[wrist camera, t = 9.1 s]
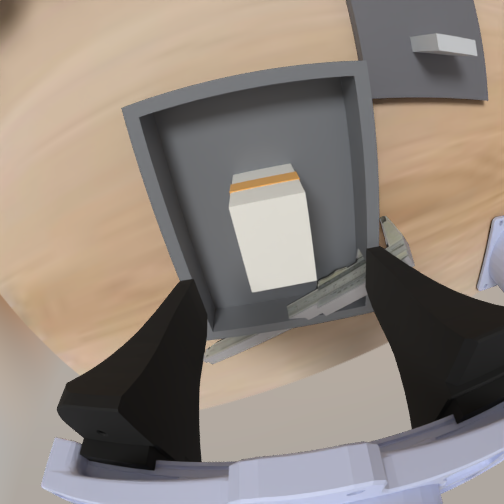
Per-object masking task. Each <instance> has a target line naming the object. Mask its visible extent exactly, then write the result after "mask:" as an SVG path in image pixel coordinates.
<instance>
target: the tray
mask: <svg viewBox="0 0 504 504" xmlns="http://www.w3.org/2000/svg"><path fill="white" fill-rule="evenodd" d="M121 109H122V112H123V116H124V119H125V123H126V126H127V130H128V133H129V137H130V140H131V143H132V147H133V150H134V153H135V157H136V160H137V163H138V166H139V169H140V172H141V175H142V178H143V182H144V185H145V188H146V191H147V193H148V196H149V199H150V202H151V205H152V208H153V211H154V214H155V216H156V219H157V222H158V225H159V228H160V230H161V233H162V236H163V238H164V241H165V244H166V246H167V249H168V252H169V254H170V257H171V260H172V262H173V265H174V267H175V270H176V272H177V275H178V277H179V280H180V281H183V280H189V279H194V281H195V283H196V286H197V289H198V291H199V294H200V297H201V299H202V302H203V304H204V307H205V309H206V312H207V314H208V316H207V339H206V340H215V339H223V338H231V337H238V336H245V335H252V334H259V333H265V332H272V331H278V330H284V329H290V328H296V327H302V326H307V325H313V324H318V323H323V322H328V321H333V320H338V319H343V318H348V317H353V316H357V315H362V314H366V313H371V312H374V310H373V308H372V306H371V303H370V300H369V297H368V295H366V296H364V297H362V298H360V299H358V300H356V301H354V302H352V303H351V304H349V305H347V306H345V307H343V308H341V309H339V310H337V311H335V312H333V313H331V314H329V315H327V316H325V315H324V314H323V313H321V314H319V315H318V316H316V317H314V318H312V319H310V320H308V319H307V318H296V319H289V316H288V310H287V305H289V304H291V303H292V302H294V301H296V300H298V299H300V298H301V297H303V296H305V295H307V294H308V293H310V292H312V291H314V290H315V289H316V284H317V281H312V282H306V283H301V284H296V285H291V286H286V287H280V288H275V289H269V290H264V291H258V292H253V293H252V291H251V287H250V284H249V280H248V276H247V273H246V269H245V265H244V262H243V258H242V255H241V251H240V247H239V244H238V240H237V236H236V233H235V229H234V225H233V222H232V218H231V214H230V211H229V201H230V192H229V191H230V185H231V184H232V179H233V175H235V174H240V173H244V172H249V171H254V170H259V169H264V168H269V167H274V166H279V165H284V164H290V163H291V165H292V167H293V169H294V171H296V172H297V174H298V176H299V178H300V183H301V185H302V187H303V189H304V191H305V194H306V201H307V207H308V214H309V221H310V229H311V236H312V244H313V252H314V260H315V268H316V277H317V280H318V279H320V278H323V277H326V276H328V275H329V274H330V273H331V272H333V271H334V270H336V269H339V268H342V267H345V266H346V267H348V266H350V265H352V264H353V263H355V262H356V256H357V250H358V249H359V250H360V252H361V254H362V256H363V257H364V259H365V261H366V249H367V248H372V247H378V246H379V181H378V160H377V145H376V133H375V122H374V112H373V103H372V95H371V88H370V81H369V74H368V68H367V61H366V60H365V61H341V62H326V63H314V64H305V65H296V66H288V67H281V68H274V69H267V70H261V71H255V72H250V73H245V74H239V75H234V76H230V77H225V78H221V79H216V80H212V81H208V82H204V83H200V84H196V85H192V86H188V87H185V88H181V89H177V90H174V91H171V92H167V93H164V94H161V95H158V96H154V97H151V98H148V99H145V100H142V101H139V102H137V103H134V104H131V105H128V106H125V107H123V108H121Z"/></svg>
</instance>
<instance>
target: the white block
mask: <svg viewBox="0 0 504 504" xmlns="http://www.w3.org/2000/svg"><path fill="white" fill-rule="evenodd" d="M229 192H230V201H229V211H230V214H231V218H232V222H233V225H234V229H235V233H236V236H237V240H238V244H239V247H240V251H241V255H242V258H243V262H244V265H245V269H246V273H247V276H248V280H249V284H250V287H251V291H252V293H253V292H258V291H264V290H269V289H275V288H280V287H286V286H291V285H296V284H301V283H306V282H312V281H317V277H316V268H315V260H314V252H313V244H312V236H311V229H310V221H309V214H308V207H307V201H306V194H305V191H304V189H303V187H302V185H301V183H300V178H299V176H298V174H297V172H296V171H294V169H293V167H292V165H291V163H290V164H284V165H279V166H274V167H269V168H264V169H259V170H254V171H249V172H244V173H240V174H235V175H233V179H232V184H231V185H230V191H229Z"/></svg>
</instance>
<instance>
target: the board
mask: <svg viewBox="0 0 504 504" xmlns="http://www.w3.org/2000/svg"><path fill="white" fill-rule="evenodd" d="M346 3H347V7H348V11H349V15H350V20H351V24H352V29H353V34H354V39H355V44H356V49H357V54H358V60H359V61H365V60H366V61H367V68H368V74H369V81H370V88H371V95H372V99H375V98H404V97H433V98H460V99H475V100H487V101H488V90H487V77H486V68H485V59H484V52H483V45H482V39H481V33H480V28H479V23H478V18H477V14H476V9H475V5H474V1H473V0H346Z"/></svg>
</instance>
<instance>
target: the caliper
mask: <svg viewBox="0 0 504 504" xmlns="http://www.w3.org/2000/svg"><path fill="white" fill-rule="evenodd" d="M379 219H380V222H381V225H382V229H383V233H384V237H385V241H386V245H387V248H385V250H387V251H388V252H390V253H391V254H393V255H394V256H396V257H397V258H399V259H400V260H402V261H403V262H405V263H406V264H408V265H409V266H411V267H414V266H415V265H414V261H413V258H412V254H411V251H410V247H409V244H408V242H407V241H406V239H405V238H404V236H403V235H402V234H401V232H400V231H399V230H398V229H397V228H396V226H395V225H394V224H393V223H392V222H391V221H390V220H389V219H388V218H387V217H386V216H382V217H380V218H379ZM365 284H366V261H365V259H364V257H363V256H362V254H361V252H360V250H359V249H358V250H357V256H356V262H355V263H353V264H352V265H350V266H348V267H346V266H345V267H342V268H339V269H336V270H334V271H333V272H331V273H330V274H329V275H328V276H326V277H323V278H320V279H318V280H317V284H316V289H315V290H314V291H312V292H310V293H308V294H307V295H305V296H303V297H301V298H300V299H298V300H296V301H294V302H292V303H291V304H289V305H287V310H288V316H289V319H296V318H307V319H308V320H310V319H312V318H314V317H316V316H318V315H319V314H321V313H323V314H324V315H325V316H327V315H329V314H331V313H333V312H335V311H337V310H339V309H341V308H343V307H345V306H347V305H349V304H351V303H352V302H354V301H356V300H358V299H360V298H362V297H364V296H366V295H368V294H367V291H366V288H365ZM290 329H292V328H290ZM290 329H284V330H278V331H272V332H265V333H259V334H252V335H245V336H238V337H231V338H224V339H222V340H220V341H218V342H217V343H215V344H214V345H212V346H211V347H209V348H208V349H206V352H204V359H203V361H204V362H206V363H207V362H209V363H211V364H214V363H217V362H219V361H222V360H224V359H226V358H229V357H231V356H233V355H236V354H238V353H240V352H242V351H245V350H247V349H249V348H251V347H254V346H256V345H258V344H260V343H262V342H264V341H267V340H269V339H271V338H273V337H275V336H277V335H279V334H281V333H283V332H285V331H288V330H290Z"/></svg>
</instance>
